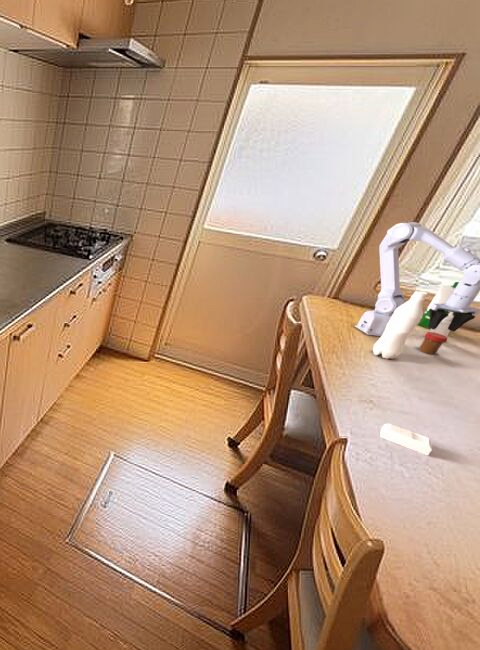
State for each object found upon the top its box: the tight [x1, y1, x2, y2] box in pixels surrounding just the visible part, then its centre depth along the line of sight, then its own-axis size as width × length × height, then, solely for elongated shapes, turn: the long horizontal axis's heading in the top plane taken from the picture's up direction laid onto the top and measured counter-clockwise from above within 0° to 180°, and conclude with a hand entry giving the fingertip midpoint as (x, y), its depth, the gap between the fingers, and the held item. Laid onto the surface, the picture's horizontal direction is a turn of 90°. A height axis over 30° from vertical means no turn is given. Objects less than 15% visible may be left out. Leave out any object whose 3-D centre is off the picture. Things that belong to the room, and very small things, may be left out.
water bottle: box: [372, 290, 428, 360], centre depth 148 cm, size 7×7×25 cm
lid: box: [424, 331, 449, 343], centre depth 157 cm, size 6×6×2 cm
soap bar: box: [380, 423, 433, 457], centre depth 108 cm, size 5×9×3 cm, turn 46°
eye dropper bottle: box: [428, 312, 454, 338], centre depth 168 cm, size 4×6×12 cm
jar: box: [418, 337, 444, 355], centre depth 158 cm, size 5×5×6 cm
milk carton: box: [417, 281, 460, 330], centre depth 178 cm, size 9×9×20 cm
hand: (441, 329), depth 155 cm, fingers open, 6 cm apart
